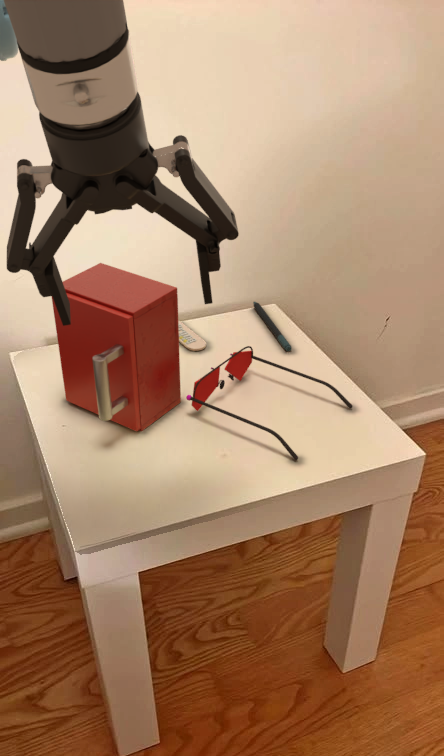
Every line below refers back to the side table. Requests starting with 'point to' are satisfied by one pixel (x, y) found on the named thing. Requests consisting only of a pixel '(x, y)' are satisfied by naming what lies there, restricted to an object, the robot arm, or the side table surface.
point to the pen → (272, 327)
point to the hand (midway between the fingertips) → (136, 304)
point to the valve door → (99, 361)
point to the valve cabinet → (141, 331)
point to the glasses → (237, 369)
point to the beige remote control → (190, 338)
